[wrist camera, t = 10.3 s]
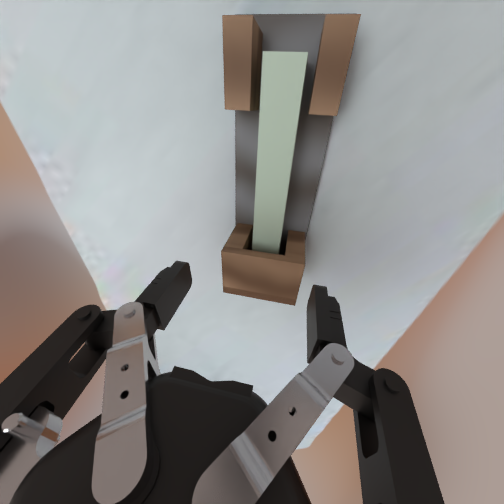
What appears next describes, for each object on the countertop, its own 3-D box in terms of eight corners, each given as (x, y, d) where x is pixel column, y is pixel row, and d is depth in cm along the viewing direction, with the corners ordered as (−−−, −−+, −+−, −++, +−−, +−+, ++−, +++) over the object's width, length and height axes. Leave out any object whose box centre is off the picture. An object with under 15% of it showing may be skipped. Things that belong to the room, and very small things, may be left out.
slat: (270, 61, 17) (262, 51, 14) (307, 62, 17) (308, 52, 13) (256, 255, 29) (250, 273, 26) (278, 258, 28) (274, 278, 25)
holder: (238, 19, 17) (201, -31, 11) (354, 18, 16) (386, -38, 10) (237, 255, 31) (221, 291, 25) (298, 265, 29) (297, 305, 23)
